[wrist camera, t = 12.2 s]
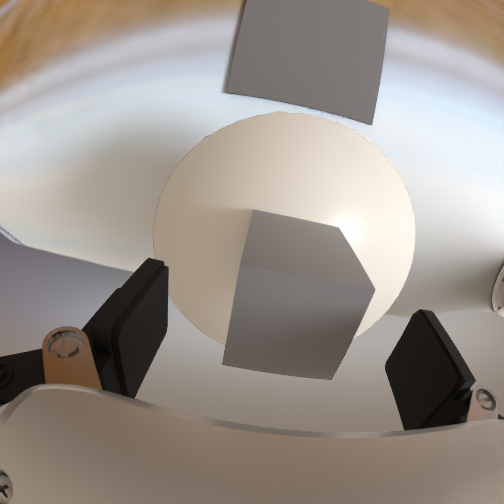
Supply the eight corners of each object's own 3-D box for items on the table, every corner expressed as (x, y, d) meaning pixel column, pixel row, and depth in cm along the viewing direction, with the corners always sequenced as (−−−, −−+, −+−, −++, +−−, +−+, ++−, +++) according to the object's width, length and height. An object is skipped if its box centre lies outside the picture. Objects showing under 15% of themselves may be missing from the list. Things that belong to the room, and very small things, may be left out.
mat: (387, 9, 19) (388, 8, 19) (370, 124, 25) (372, 124, 25) (253, -22, 19) (253, -24, 19) (227, 92, 25) (226, 92, 25)
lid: (415, 153, 15) (521, 186, 6) (351, 334, 21) (379, 437, 12) (189, 100, 15) (101, 77, 6) (169, 302, 21) (118, 400, 12)
